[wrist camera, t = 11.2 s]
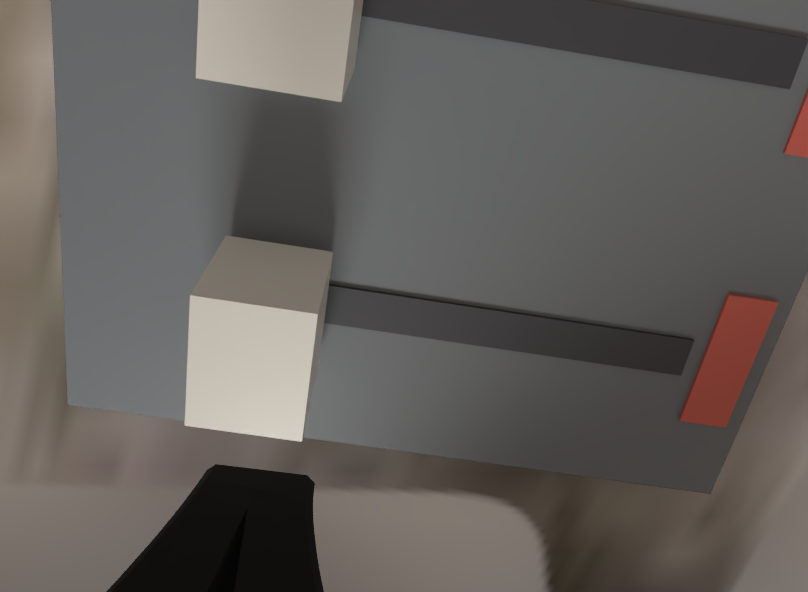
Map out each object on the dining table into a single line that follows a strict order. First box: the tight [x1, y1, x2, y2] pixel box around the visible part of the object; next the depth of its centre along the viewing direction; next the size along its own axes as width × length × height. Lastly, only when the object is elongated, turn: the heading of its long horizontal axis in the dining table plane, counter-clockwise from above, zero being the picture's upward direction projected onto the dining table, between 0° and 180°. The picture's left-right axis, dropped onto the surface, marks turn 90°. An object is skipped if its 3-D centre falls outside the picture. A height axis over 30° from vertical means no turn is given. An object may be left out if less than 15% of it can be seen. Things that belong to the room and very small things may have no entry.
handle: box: [185, 235, 333, 442], centre depth 16 cm, size 2×3×3 cm
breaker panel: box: [51, 0, 808, 494], centre depth 16 cm, size 17×22×1 cm
